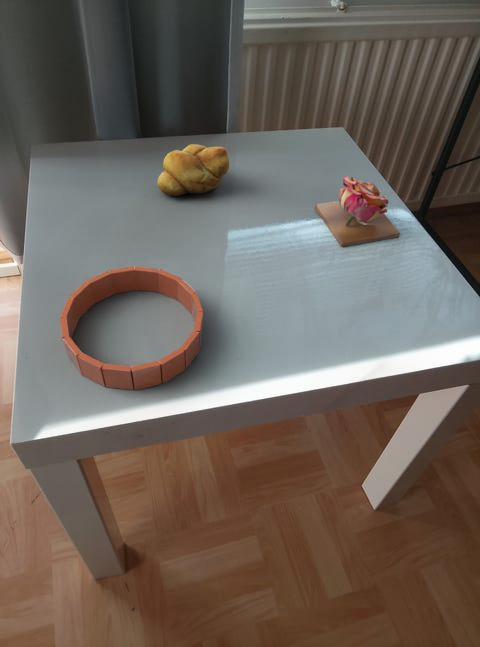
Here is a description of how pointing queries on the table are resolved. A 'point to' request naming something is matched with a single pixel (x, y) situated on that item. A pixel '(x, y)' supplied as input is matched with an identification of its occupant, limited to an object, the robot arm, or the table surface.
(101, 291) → the terracotta brick ring
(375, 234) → the brown wooden square board
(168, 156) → the bread roll
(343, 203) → the flower
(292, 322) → the table surface
